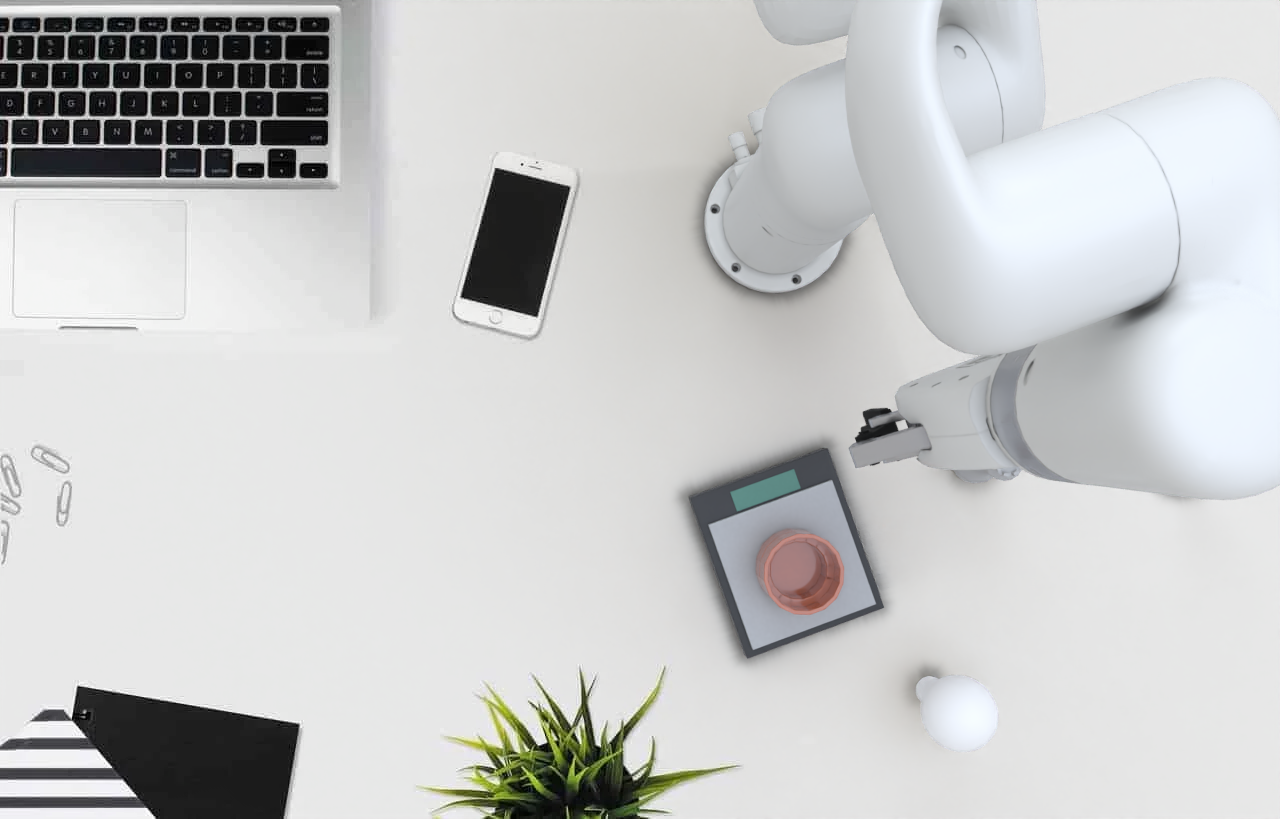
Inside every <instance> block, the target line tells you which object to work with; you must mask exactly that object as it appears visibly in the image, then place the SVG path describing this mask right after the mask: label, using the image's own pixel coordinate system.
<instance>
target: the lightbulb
mask: <svg viewBox="0 0 1280 819" xmlns="http://www.w3.org/2000/svg"><path fill="white" fill-rule="evenodd" d="M915 695H916V697H917V699H918V700H919V701H920V718H921V722H922V725H923V727H924V730H925V731H926V733H927V734H928V736H929V737H930V738H931V739H932V741H934V742H935V743H936V744H937V745H939V746H940V747H942V748H944V749H946V750H948V751H950V752H955V753H970V752H975V751H978V750H981V749H982V748H983V747H985V746H986V745H987V744H988V743H989V742H990V741H991V740H992V739H993V737H994V736H995V734H996V731H997V729H998V725H999V709H998V704H997V702H996V700H995V698H994V696H993V695H992V693H991V691H990V690H989V689H988V688H987V687H986V685H984V684H983V683H982V682H980V681H978V680H977V679H975V678H973V677H971V676H968V675H964V674H949V675H944V676H942V677H940V678H938V677H936V676H932V675H927V676H924V677H922V678H920V679H919V680H918V681H917V684H916V685H915Z"/></svg>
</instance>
